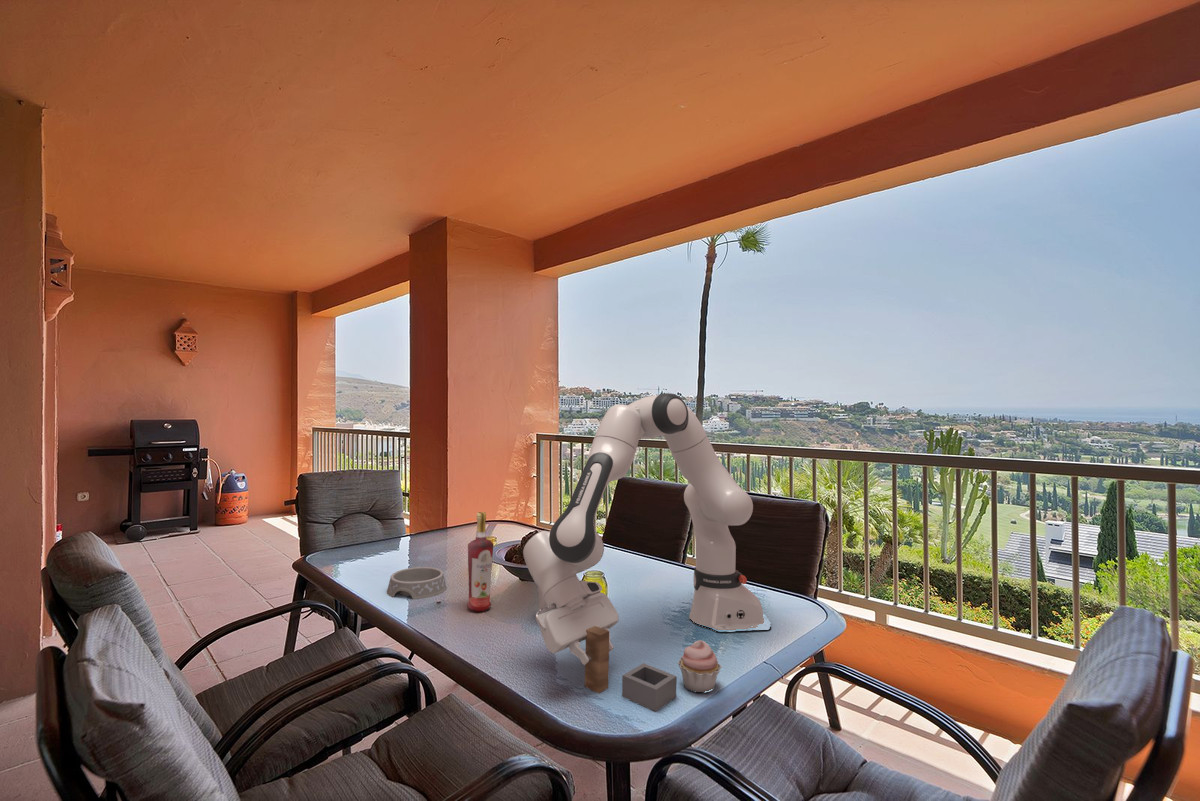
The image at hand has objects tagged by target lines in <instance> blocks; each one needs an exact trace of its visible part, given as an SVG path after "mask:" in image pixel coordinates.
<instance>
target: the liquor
mask: <svg viewBox="0 0 1200 801" xmlns="http://www.w3.org/2000/svg"><path fill="white" fill-rule="evenodd" d="M486 520H487V512H484V511H480V512H479V511H478V512H477V513H476V523H477V524H476V525H477V526H476V534H475V538H474V539H473V540H471V541H470V542H469V543H467V565H468V566H467V567H468V568H467V570H468V602H467V608H468V609H469V610H470V611H471V612H474V611H475V613H482V612H481V611H483V612H485V611H487V610H488V609H489V608H490V607H491V605H492V603H491V598H490V597H491V584H492V583H491V580H492V569H493V559H494V558H493V557H494V543H493V542H492V541H491V540H489V539H487V531H486V530H487V529H486Z"/></svg>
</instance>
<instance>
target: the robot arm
mask: <svg viewBox="0 0 1200 801" xmlns="http://www.w3.org/2000/svg"><path fill="white" fill-rule="evenodd" d="M595 432H596V433H595V435H594V438H593V440H592V444H591V447H590V449H589V453H588V457H587V460H586V462H585V465H584V467H583V470H582V471H581V474H580V476H579V479H578V480H577V483H576V487H575V488H574V491H573V494H572V495H571V498H570V501H569V502H568V505H567V506H566V509H565V510H564V511H563V512H562V513H561V515H560V516H559V517H558V518H557V519H556V520H555V522H554V523H553V525H552V527H551V528H550V531H548V530H541V531H538V532H537V533H535V534H533V535H532V536H531V537H529V539H528V540H527V541H526V543H525V545H524V547H523V550H522V555H523V559H524V562H525V565H526V567H527V569H528V572H529V573H530V576H531V578H532V580H533V581H534V583H535V584H536V585H537V587H538V586H539V587H540V589H541V591H542V596H543V598H544V600H545V602H546V604H547V607H545V608H541V609H538V610H537V612H536V614H535V621H536V623H537V624H538V626H539V631H540V633H541V636H542V639H543V641H544V643H545V647H546V648H547V650H548V652H550V653H551V654H553V655H554V654H557V653H559V652H562V651H564V650H566V649H569V651H570V653H571V654H573V655H574V656H576V657H577V658H578V659H579V660H580V662H581V664H582V665H583V666H585V664H587V663H589V662H590V661H591V660H592V657H591V656H590V654H589V652H585V649H583V648H581V647H580V646H581V643H582V642H584V641H586V636H587V632H586V630H587V629H589V628H591V627H594V626H597V627H600V628H602V629H605V630H608V631H609V653H610V652H612V651H613V650H614V645H613V643H612V642H611V634H610V632H611V631H610V630H609V629H612V628H613V627H614V626H615V625H616V624H617V623H618V622H619V613H618V612H617V610H616V608H615V606H614V604H613V603H612V601H611V600H610V599H609V597H608V596H607V595H606V594H605V593H604V592H601V591H602V590H603V587H602V585H601V584H600V582H597V581H585V580H580V579H579V577H578V576H577V574H579V573H582V572H585V571H586V570H589V569H591V568H593V567H594V566H596V565H597V564H598V563H599V562H601V559H602V558H603V556H604V551H605V545H604V541H603V539H602V537H601V536H600V534H599V533H598V532H597V530H596V528H595V517H596V514H597V511H598V508H599V506H600V504H601V501H602V498H603V495H604V493H605V490H606V489H607V486H608V485H609V484H610V483H611V482H613V481H618V480H620V479H623V478H624V477H625V476H627V474H628V472H629V470H630V468H631V466H632V463H633V462H634V459H635V456H636V452H637V449H638V446H639V441H640V440H644V439H645V440H646V439H655V438H658V437H661V436H662V437H663V438H664V439H665V441H666V443H667V446H668V448H669V451H670V453H671V455H672V457H673V459H674V461H675V463H676V465H677V467H678V469H679V472H680V473H681V475H682V477H684V479H686V480H687V481H688V483H689V484H688V485H687V486H686V487H685V490H684V492H683V502H684V504H685V506H686V507H687V510H688V512H689V514H690V515H689V516H690V518H691V522H692V527H693V531H694V532H693V533H694V538H695V539H694V540H695V567H694V570H693V588H694V592H693V599H692V605H691V609H690V613H689V615H688V618H689V620H690V619H691V620H692V621H693V622H692V621H691V620H690V621H691V622H692V623H694V622H695V623H697V624H700V625H704V626H708V627H711V628H714V629H716V630H736V629H748V628H756V627H758V626H757V625H759V624H763V623H764V618H763V613H764V611H763V610H764V609H763V606H762V604H761V601H760V599H759V598H758V597H757V595H755V594H754V593H753V592H752V591H751V590H749V589H748V588H747V587H746V586H745V584H746V583H747V582H748V580H747V579H748V578H747V577H746V575H743V574H742V573H741V572H739V570H736V558H737V557H736V556H737V555H736V552H737V551H736V549H737V545H736V541H735V540H734V537H733V536H732V534H731V532H730V529H729V526H731V527H733V526H742V525H744V524H746V523H747V522H748V521H749V520H750V518H751V516H752V514H753V510H754V504H753V500H752V498H751V496H750V494H748V493H747V492H746V491H745V490H744V489H742V488H741V486H740V485H739V484H738V483H737V481H735V479H734V478H733V476H731V473H729V471H728V470H727V468H725V466H724V465H723V463H722V462H721V460H720V459H719V457H718V455H717V453H716V452H715V449H714V446H713V445H712V443H711V441H710V439H709V437H708V435H707V433H706V431H705V429H704V427H703V424H702V423H701V422H700V420H699V419H698V417H697V416H696V414H695V412H693V410H692V409H691V408H690V407H689V406H688V405H687V404H686V403H685V401H684V400H683V399H682V397H680V396H679V395H677V394H675V393H669V392H667V393H665V392H664V393H661V394H655V395H653V394H652V395H648V396H644V397H642V398H640V399H637V400H635V401H630V402H628V403H626V404H623V403H622V404H619V403H618V404H615V405H611V406H610V407H609V408H608V409H607V411H606V412H605V414H604V416H603V417H602V420H601V421H600V424H599V425H598V428H597V430H596V431H595ZM695 623H694V624H695ZM697 624H696V625H697ZM700 625H699V626H700ZM751 626H753V627H751Z"/></svg>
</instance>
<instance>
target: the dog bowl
mask: <svg viewBox="0 0 1200 801" xmlns="http://www.w3.org/2000/svg"><path fill="white" fill-rule="evenodd" d="M446 590H447V584H446V580H445V575H444V571H443V570H442V569H440V568H436V567H433V566H432V567H430V566H429V567H428V566H417V567H416V566H415V567H408V568H405V569H404V568H403V569H400V570H398V571H395V572H394V573H392V574H391V575H390V578H389V582H388V587H387V589H386V595H387V596H389V597H390V598H394V596H395V595H396V594H398V595H399V594H400V595H401V596H402V595H403V596H410V597H411V598H412V600H421V599H428V598H431V597H435V596H438V595H441V594H444V593H445V592H446Z"/></svg>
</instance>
